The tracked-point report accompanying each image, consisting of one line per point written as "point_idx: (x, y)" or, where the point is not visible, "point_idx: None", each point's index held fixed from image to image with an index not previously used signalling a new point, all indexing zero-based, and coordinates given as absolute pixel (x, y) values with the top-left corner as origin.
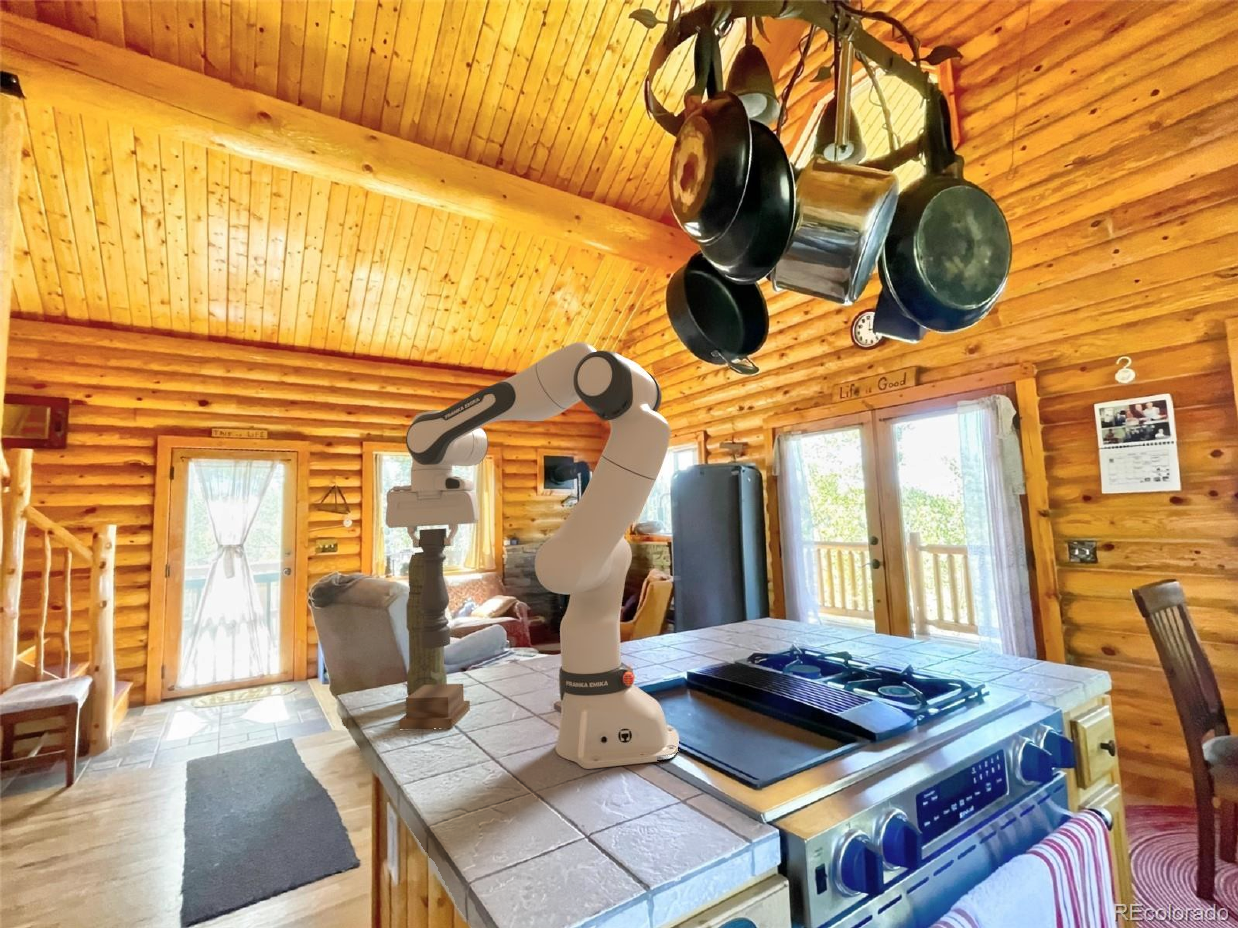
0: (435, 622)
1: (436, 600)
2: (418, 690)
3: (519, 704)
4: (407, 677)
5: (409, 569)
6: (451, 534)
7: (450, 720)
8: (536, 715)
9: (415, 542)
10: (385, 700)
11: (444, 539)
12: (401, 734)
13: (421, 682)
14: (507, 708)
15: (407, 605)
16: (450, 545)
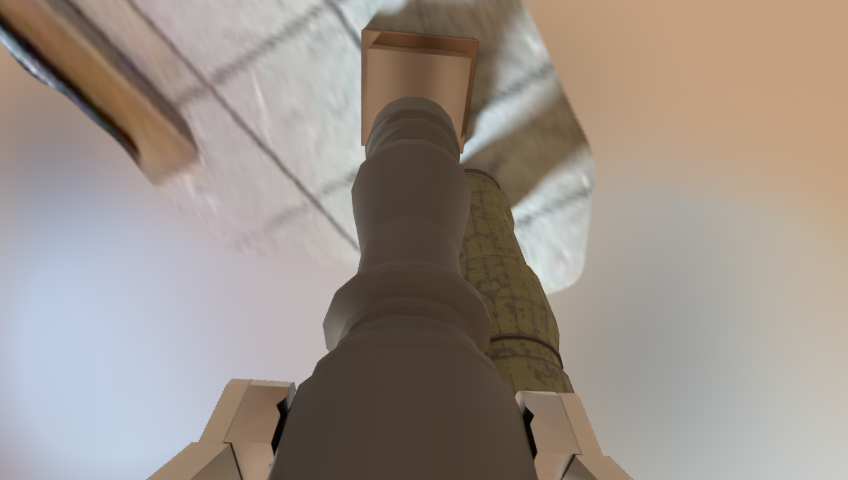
0: (396, 128)
1: (383, 152)
2: (458, 115)
3: (270, 155)
4: (509, 208)
5: None
6: (163, 474)
7: (364, 30)
8: (207, 84)
9: (565, 427)
10: (551, 219)
11: (269, 429)
12: (464, 13)
13: (472, 188)
14: (287, 136)
15: (551, 316)
16: (237, 379)
